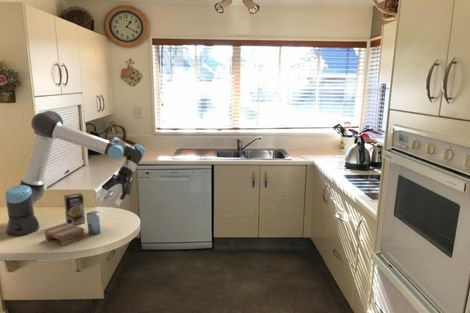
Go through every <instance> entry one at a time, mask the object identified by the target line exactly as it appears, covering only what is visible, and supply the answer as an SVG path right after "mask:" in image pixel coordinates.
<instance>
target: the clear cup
mask: <svg viewBox="0 0 470 313" xmlns="http://www.w3.org/2000/svg"><path fill="white" fill-rule="evenodd" d="M85 216H86V223H87V224H86V225H87V233H88V236H98V235H99V234H101V222H100V212H99V211H97V210H96V211H95V210H94V211H93V210H92V211H89V212H87V213H86V215H85Z"/></svg>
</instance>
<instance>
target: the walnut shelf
mask: <svg viewBox="0 0 470 313" xmlns="http://www.w3.org/2000/svg"><path fill="white" fill-rule="evenodd" d="M44 233H45V234H44V236H45V241H47V240H48V241H47V242H49V240H50V241H52V240H54V238H55V239H57V240H59V244H60V246H61V247H65V246H68V245H70V244H72V243H75V242H77V241H79V240H82V239H84V238H85V228H84V227H81V226H78V225H72V224H69V223H66V222H65V223H62V224H60V225H57V226H55V227H51V228H48V229H45V230H44Z"/></svg>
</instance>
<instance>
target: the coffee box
mask: <svg viewBox="0 0 470 313" xmlns="http://www.w3.org/2000/svg"><path fill="white" fill-rule="evenodd" d="M63 201H64V211H65V219H66V220H65V223H69V224H72V225H75V226H77V225H80V224H86V218H85V216H86V215H85V205H84V204H85V203H84V195H83V194H82V193H81V192H79V193H72V194H67V195H65V194H64V195H63Z"/></svg>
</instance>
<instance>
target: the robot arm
mask: <svg viewBox="0 0 470 313" xmlns="http://www.w3.org/2000/svg"><path fill="white" fill-rule="evenodd" d="M30 124H31V128H32V129H33V130H32V131H34V132H33V133H34V135H35V136H36V137H35V140H34V142H33V143H34V144H33V147H32V151H31V155H30V158H29V162H28V165H27V170H26V173H25V175H24V176H23V177H21V179H20V183H19V185H15V186H11V187H9V188H7V190H6V191H5V198H4V199H5V202H6V203H5V204H6V209H7V216H8V221H7V226H6V234H7V235H8V234H10V235H21V236H25V235H24V234H26V235H29V233H30V234H33V233H35V232H36V231H38V230H40V222H39V221H38V219H37V217H36V216H35V211H34V204H36V203H37V202H38V201H39V200H40V199H41V198H43V195H44V193H45V181H44V174H45V171H46V168H47V164H48V160H49V157H50V154H51V150H52V146H53V143H54V141H55V140H56V139H59V140H62V141H64V142H67V143H71V144H73V145H77V146H79V147H82V148H85V149H88V150H91V151H94V152H97V153H100V154H103V155H105V156H108V157H109V158H110V159H112V160H119V159H120V158H122V157H124V158H125V160H124V161H123V163H122V165H121V167H120V168H119V169H118V174H117V175H116V174H115V173H114V174H112V176H111V177H110V178H108V180H107V181H106V182H105V183H103V184H102V185H101V188H102V191H101V192H100V195H99V196H98V198H97V200H98V201H100V202H103V200H104V198H105V197H106V195H107V194H108V193H109V191H108V190H110V189H112V188H113V187H114V186H116V185H121V188H122V191H121V192H120V194H119V196H118V197H117V199H116V201H115V203H114V204H115V205H117V206H118V207H119V206H120V205H121V203H122V202H123V201H124V199H125V198H126V196H128V195H130V194H131V190H132V183H133V181H134V180H133V178H132V176H133V174H134V173H135V171H136V169H137V168H138V166H139V164H140V162H141V161H142V159H143V157H144V155H145V153H146V149H145V148H144V147H143V146H142V145H140V144H137V143H136V144H135V143H134V145H131V144H129V143H127V142H126V141H124V140H122V139H120V138H118V137H116V136H114V137H112V139H111V140H107V139H104V138H102V137H100V136H99V137H98V136H96V135H94V134H91V133H88V132H85V131H82V130H79V129H76V128H74V127H71V126H68V125H65V124H64V118H63V116H62V115H61V114H60V113H58V112H57V111H54V110H46V111H43V112H39V113H37V114H34V116H33V117H32V119H31V123H30ZM32 232H33V233H32ZM10 235H9V236H10Z"/></svg>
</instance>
